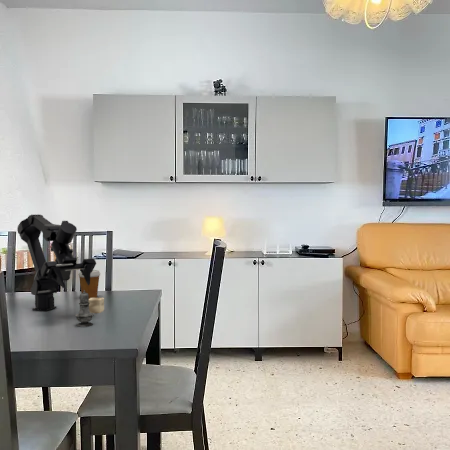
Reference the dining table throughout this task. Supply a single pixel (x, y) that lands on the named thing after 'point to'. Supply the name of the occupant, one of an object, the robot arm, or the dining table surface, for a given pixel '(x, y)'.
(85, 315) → the grey tall rounded piece
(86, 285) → the disposable coffee cup
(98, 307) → the maple block
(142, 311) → the dining table surface
